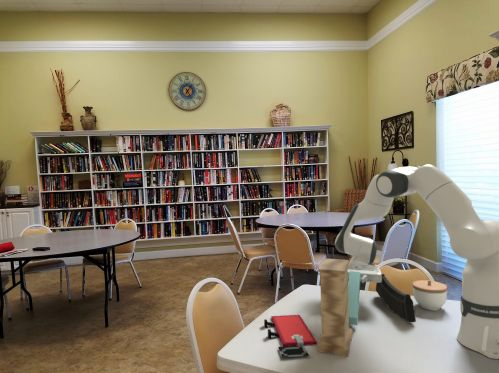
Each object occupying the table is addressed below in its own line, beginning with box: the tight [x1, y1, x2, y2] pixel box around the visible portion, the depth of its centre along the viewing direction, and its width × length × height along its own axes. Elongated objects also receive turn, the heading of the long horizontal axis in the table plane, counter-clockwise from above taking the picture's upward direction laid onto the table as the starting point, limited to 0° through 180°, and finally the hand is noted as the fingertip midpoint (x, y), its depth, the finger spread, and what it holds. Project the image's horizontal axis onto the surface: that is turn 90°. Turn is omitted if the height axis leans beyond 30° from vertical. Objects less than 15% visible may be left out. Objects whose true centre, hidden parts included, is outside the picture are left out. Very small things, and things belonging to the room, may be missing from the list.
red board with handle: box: [263, 314, 318, 358], centre depth 115 cm, size 30×3×15 cm
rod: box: [348, 271, 361, 326], centre depth 127 cm, size 4×22×4 cm, turn 158°
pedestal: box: [317, 258, 353, 357], centre depth 109 cm, size 9×15×26 cm, turn 158°
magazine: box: [375, 273, 417, 324], centre depth 134 cm, size 17×3×30 cm
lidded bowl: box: [411, 279, 448, 311], centre depth 136 cm, size 13×13×11 cm
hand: (354, 280), depth 133 cm, fingers closed on rod, 4 cm apart
